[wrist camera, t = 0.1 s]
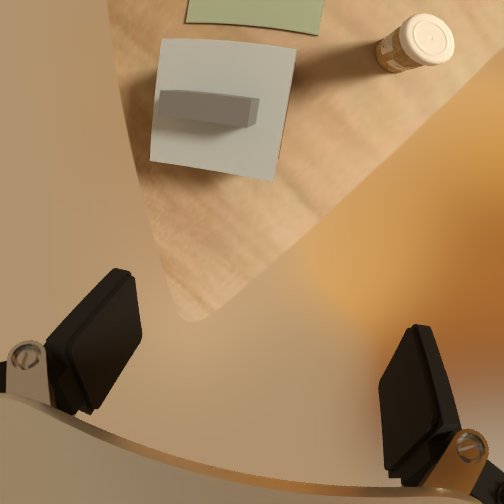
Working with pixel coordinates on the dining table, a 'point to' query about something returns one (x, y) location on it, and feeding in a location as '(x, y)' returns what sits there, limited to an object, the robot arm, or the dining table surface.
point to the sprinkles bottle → (416, 44)
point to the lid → (221, 105)
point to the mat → (259, 13)
